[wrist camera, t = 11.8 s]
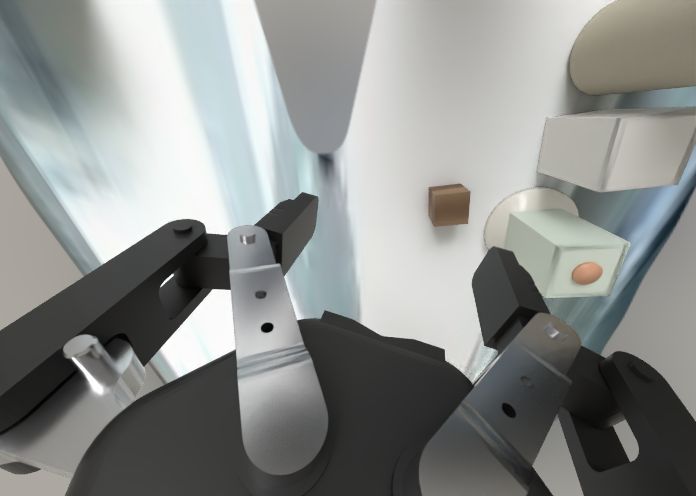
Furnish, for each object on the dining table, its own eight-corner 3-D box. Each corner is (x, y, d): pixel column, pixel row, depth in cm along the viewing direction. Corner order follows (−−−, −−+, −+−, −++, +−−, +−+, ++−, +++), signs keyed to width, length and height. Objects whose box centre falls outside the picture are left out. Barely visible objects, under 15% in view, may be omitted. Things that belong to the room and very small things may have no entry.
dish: (487, 192, 34) (491, 194, 32) (582, 182, 32) (589, 184, 31) (480, 264, 38) (483, 268, 37) (561, 258, 37) (567, 263, 36)
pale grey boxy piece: (509, 212, 33) (561, 249, 24) (560, 208, 32) (634, 244, 23) (503, 253, 36) (547, 300, 27) (550, 250, 35) (613, 297, 26)
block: (428, 187, 34) (434, 195, 30) (460, 183, 33) (470, 191, 30) (428, 215, 36) (434, 226, 32) (458, 212, 35) (468, 223, 32)
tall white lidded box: (546, 117, 29) (621, 118, 20) (606, 109, 28) (711, 105, 19) (536, 171, 32) (599, 192, 23) (590, 165, 31) (678, 184, 22)
